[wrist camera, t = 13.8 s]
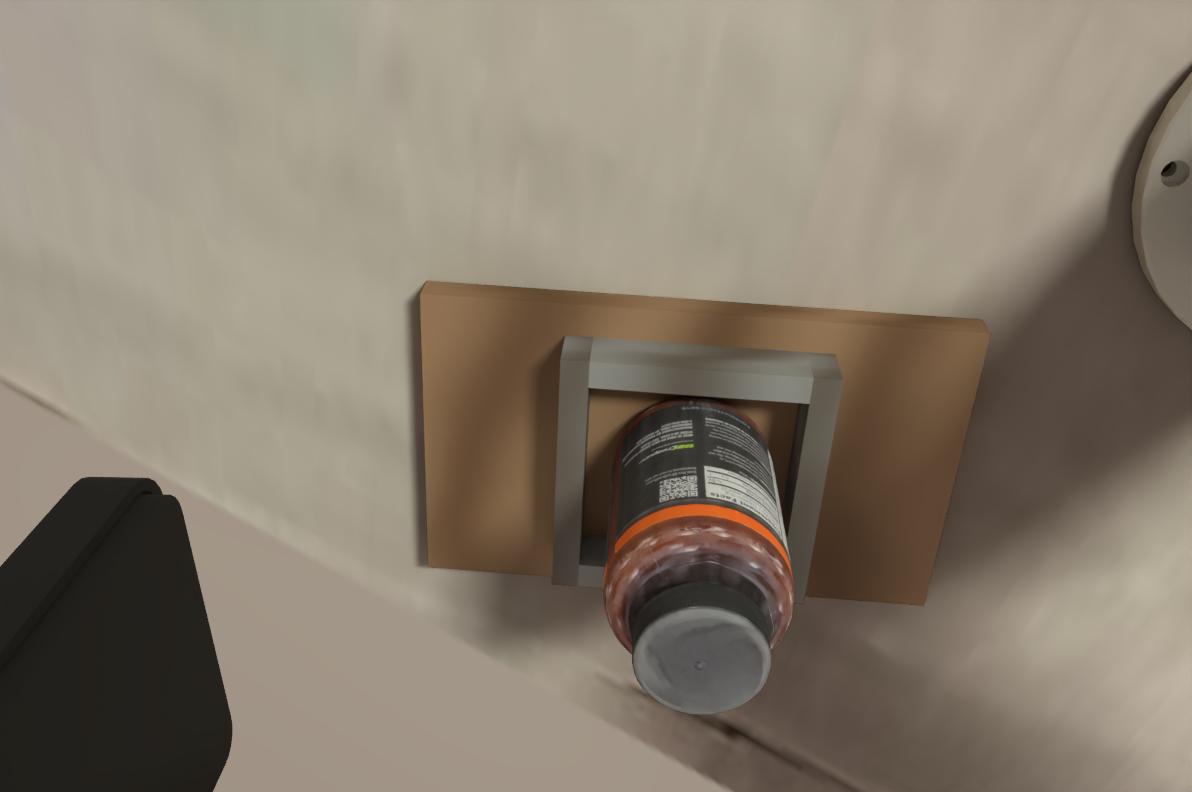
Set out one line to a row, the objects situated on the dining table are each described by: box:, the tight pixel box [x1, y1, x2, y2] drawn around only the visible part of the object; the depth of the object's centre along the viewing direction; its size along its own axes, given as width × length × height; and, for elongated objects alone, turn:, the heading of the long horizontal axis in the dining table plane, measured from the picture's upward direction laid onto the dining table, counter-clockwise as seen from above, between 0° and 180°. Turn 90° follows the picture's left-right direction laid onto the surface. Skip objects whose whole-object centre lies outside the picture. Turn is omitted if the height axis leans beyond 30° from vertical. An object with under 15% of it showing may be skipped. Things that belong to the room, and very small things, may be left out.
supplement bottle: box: [603, 397, 794, 715], centre depth 36 cm, size 6×6×11 cm
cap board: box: [420, 281, 991, 606], centre depth 40 cm, size 20×12×3 cm, turn 87°
